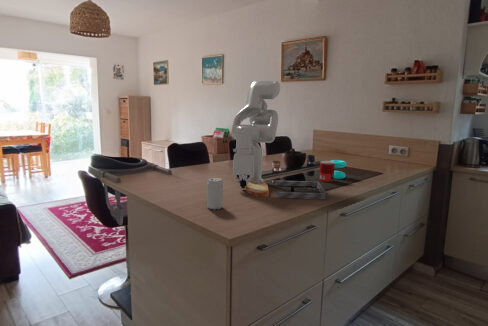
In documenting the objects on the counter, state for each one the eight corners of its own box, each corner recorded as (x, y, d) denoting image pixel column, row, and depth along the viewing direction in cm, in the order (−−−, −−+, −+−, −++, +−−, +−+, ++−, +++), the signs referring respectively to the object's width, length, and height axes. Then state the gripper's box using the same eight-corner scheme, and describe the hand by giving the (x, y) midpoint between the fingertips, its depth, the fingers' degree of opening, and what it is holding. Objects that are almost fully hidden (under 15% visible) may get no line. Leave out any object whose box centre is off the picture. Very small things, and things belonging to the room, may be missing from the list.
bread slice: (264, 198, 150) (264, 190, 150) (234, 191, 161) (234, 184, 161) (284, 190, 165) (284, 183, 164) (255, 185, 175) (255, 178, 175)
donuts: (347, 160, 197) (345, 163, 188) (346, 176, 199) (344, 179, 190) (330, 159, 201) (328, 161, 191) (329, 175, 202) (327, 178, 193)
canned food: (334, 182, 182) (335, 163, 180) (319, 181, 184) (320, 162, 182) (333, 179, 189) (334, 161, 188) (319, 178, 191) (320, 160, 189)
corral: (276, 197, 151) (276, 192, 150) (274, 185, 175) (274, 180, 174) (327, 199, 149) (327, 194, 149) (318, 186, 173) (318, 181, 173)
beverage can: (207, 205, 137) (207, 177, 135) (222, 205, 138) (222, 177, 136) (206, 210, 131) (206, 181, 129) (222, 210, 132) (223, 181, 129)
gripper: (227, 152, 157) (227, 189, 160) (258, 153, 156) (257, 190, 159) (229, 150, 164) (229, 185, 167) (259, 150, 163) (258, 186, 166)
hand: (243, 187), depth 163 cm, fingers closed
